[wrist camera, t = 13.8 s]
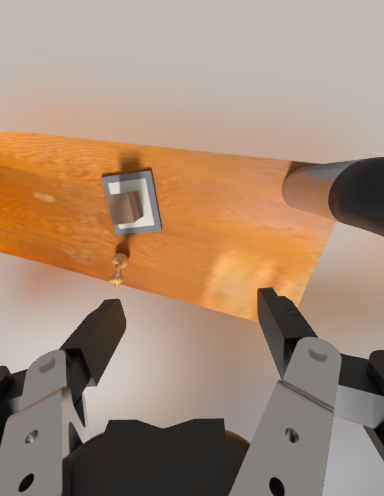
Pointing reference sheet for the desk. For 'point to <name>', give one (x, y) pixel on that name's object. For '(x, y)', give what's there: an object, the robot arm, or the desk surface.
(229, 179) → the desk surface
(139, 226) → the mat
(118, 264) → the figurine
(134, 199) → the walnut box
